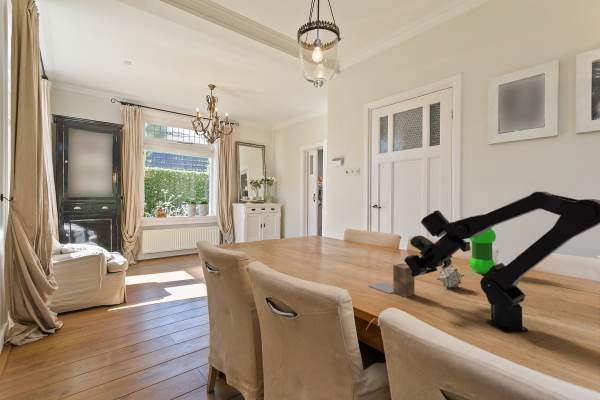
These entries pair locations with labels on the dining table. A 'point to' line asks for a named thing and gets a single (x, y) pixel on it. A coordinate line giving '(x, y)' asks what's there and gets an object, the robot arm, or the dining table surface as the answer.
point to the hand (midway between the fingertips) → (412, 275)
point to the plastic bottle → (482, 252)
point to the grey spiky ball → (450, 277)
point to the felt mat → (383, 287)
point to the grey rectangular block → (403, 280)
